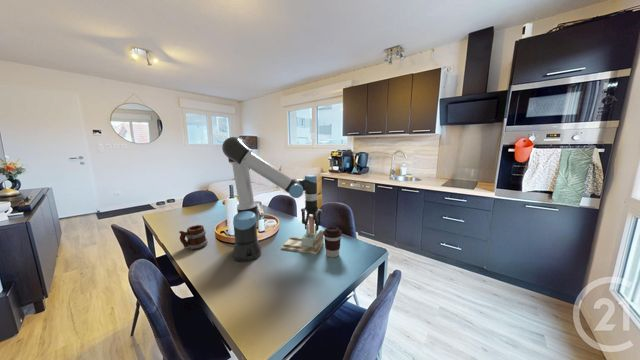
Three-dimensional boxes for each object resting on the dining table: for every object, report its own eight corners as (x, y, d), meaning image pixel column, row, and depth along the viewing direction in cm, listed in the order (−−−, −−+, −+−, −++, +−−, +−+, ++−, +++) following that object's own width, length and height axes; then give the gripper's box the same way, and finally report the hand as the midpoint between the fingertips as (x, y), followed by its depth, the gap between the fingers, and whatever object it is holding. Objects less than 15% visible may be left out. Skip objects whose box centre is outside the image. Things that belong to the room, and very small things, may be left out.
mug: (213, 243, 135) (207, 221, 130) (191, 257, 123) (184, 234, 119) (202, 239, 141) (195, 218, 136) (180, 252, 129) (172, 230, 124)
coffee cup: (340, 259, 115) (340, 233, 112) (322, 258, 117) (321, 231, 114) (342, 250, 124) (342, 226, 122) (325, 249, 126) (325, 224, 124)
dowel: (308, 239, 139) (308, 217, 137) (310, 237, 142) (309, 215, 140) (313, 239, 138) (313, 217, 136) (315, 237, 141) (314, 215, 139)
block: (301, 246, 126) (301, 238, 125) (306, 240, 134) (306, 232, 133) (314, 248, 124) (314, 239, 123) (319, 242, 132) (318, 234, 131)
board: (280, 249, 127) (280, 235, 126) (290, 238, 140) (290, 226, 139) (316, 254, 121) (316, 240, 119) (323, 243, 134) (323, 230, 133)
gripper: (295, 200, 135) (296, 235, 139) (323, 202, 130) (323, 238, 134) (300, 197, 142) (301, 230, 146) (326, 199, 137) (326, 233, 141)
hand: (311, 234), depth 140 cm, fingers open, 5 cm apart
